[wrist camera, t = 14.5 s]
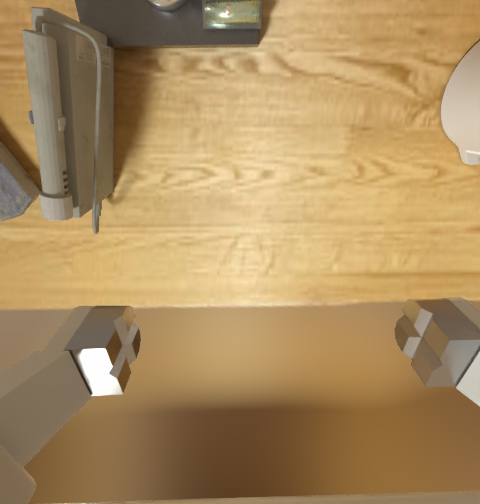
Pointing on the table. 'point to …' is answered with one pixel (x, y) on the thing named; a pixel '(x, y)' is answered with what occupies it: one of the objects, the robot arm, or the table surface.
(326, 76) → the table surface
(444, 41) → the table surface
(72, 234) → the table surface
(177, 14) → the stand
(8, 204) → the grey stone slab
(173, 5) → the knob
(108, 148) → the geiger counter
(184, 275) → the table surface
